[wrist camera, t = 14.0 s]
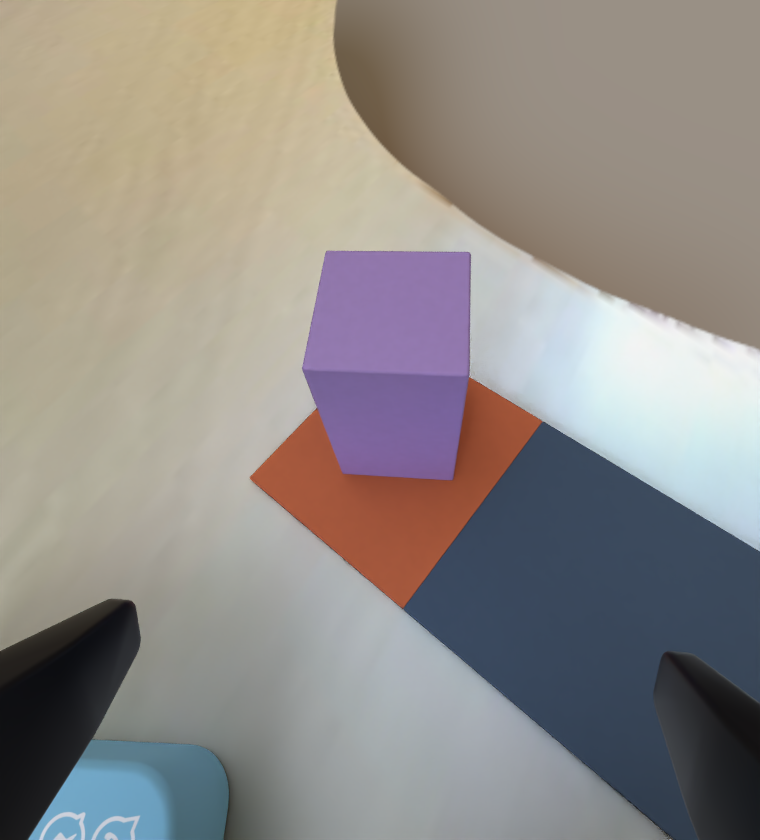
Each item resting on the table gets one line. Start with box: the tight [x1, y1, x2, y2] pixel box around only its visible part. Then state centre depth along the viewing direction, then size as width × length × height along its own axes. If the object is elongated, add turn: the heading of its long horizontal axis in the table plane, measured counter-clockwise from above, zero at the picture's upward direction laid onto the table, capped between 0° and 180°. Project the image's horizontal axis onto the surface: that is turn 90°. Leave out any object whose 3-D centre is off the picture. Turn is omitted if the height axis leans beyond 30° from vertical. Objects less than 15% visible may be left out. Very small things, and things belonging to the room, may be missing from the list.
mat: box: [250, 377, 760, 840], centre depth 20 cm, size 26×10×1 cm, turn 51°
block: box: [302, 251, 471, 480], centre depth 19 cm, size 5×5×8 cm
